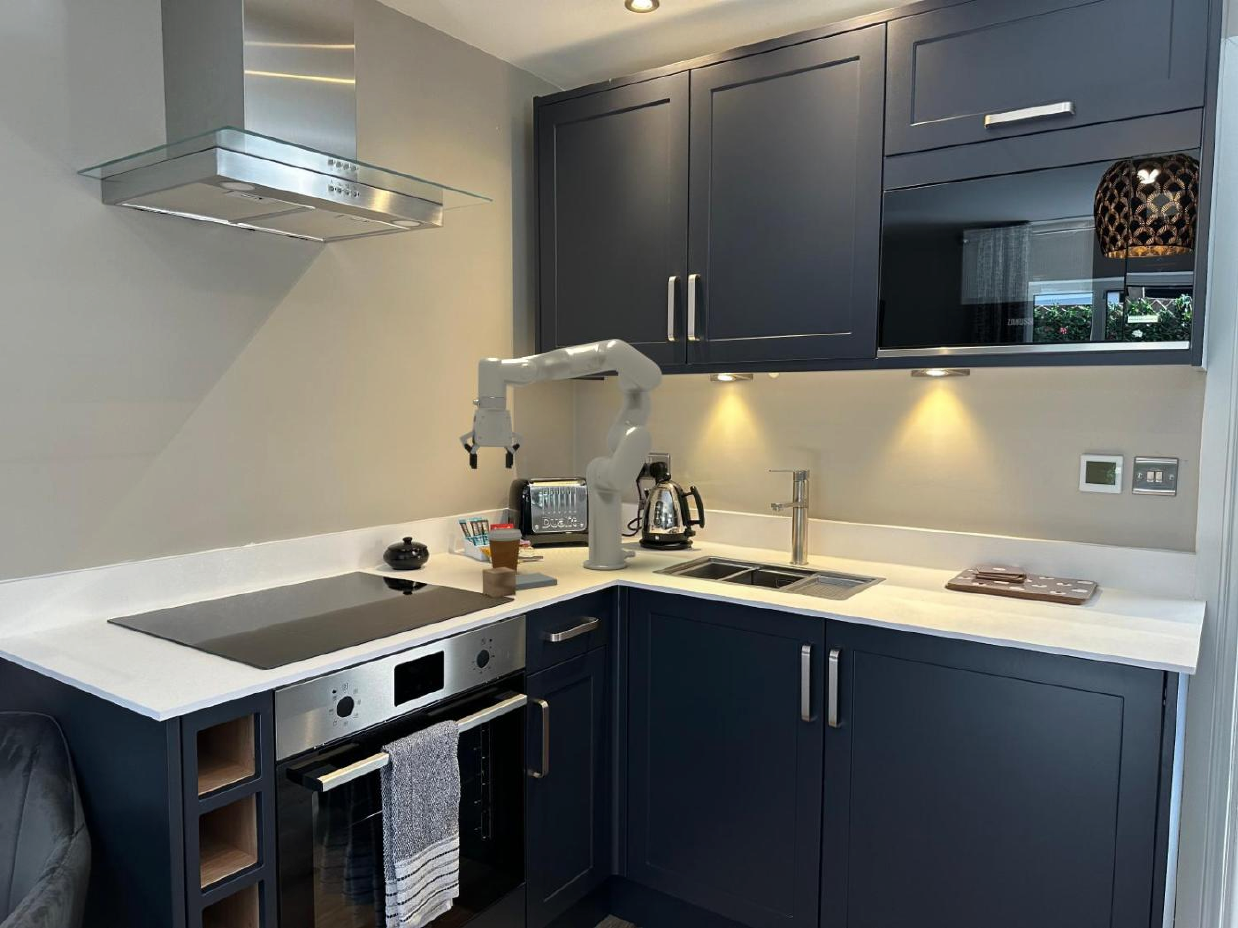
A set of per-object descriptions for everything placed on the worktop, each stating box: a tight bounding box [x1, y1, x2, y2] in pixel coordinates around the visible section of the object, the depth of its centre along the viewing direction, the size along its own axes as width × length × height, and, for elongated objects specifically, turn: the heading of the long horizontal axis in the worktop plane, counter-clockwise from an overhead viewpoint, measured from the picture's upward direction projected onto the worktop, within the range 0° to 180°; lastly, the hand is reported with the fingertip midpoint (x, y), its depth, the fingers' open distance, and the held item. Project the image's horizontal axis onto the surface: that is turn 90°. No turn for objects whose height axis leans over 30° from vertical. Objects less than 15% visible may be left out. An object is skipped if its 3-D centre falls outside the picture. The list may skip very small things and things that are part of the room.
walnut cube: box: [482, 567, 517, 598], centre depth 205 cm, size 6×6×6 cm
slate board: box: [516, 572, 558, 591], centre depth 216 cm, size 12×10×2 cm
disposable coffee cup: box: [486, 528, 523, 574], centre depth 229 cm, size 10×10×12 cm
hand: (491, 468), depth 224 cm, fingers open, 9 cm apart
